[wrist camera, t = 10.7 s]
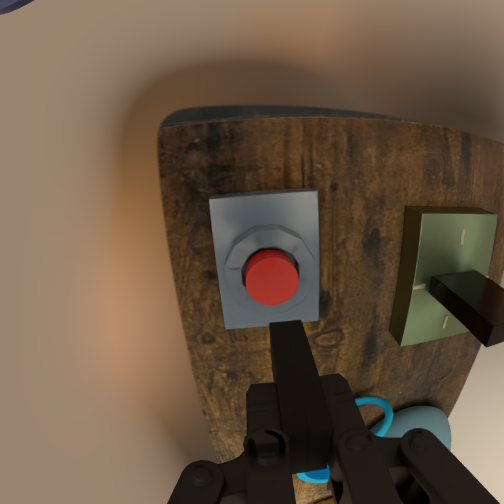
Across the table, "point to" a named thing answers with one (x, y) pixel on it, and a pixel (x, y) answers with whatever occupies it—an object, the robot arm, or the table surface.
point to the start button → (271, 277)
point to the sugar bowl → (419, 423)
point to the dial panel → (437, 267)
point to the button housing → (264, 238)
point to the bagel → (326, 501)
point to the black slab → (473, 303)
